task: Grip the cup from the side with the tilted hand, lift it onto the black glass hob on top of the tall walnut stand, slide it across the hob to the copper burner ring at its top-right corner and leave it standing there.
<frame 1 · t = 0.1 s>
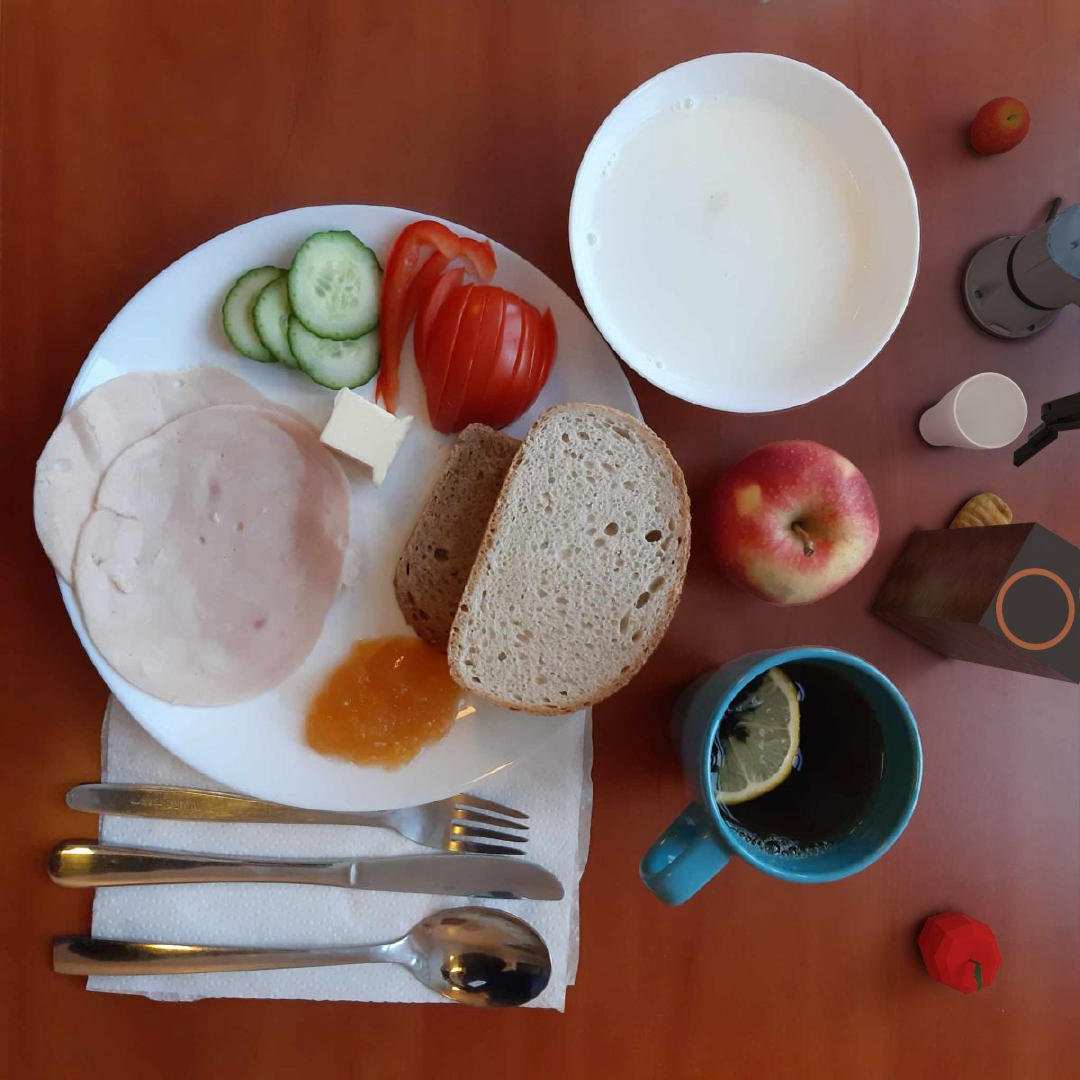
hand: (1057, 486, 114), 15 cm above the table, tool tilted 35°, fingers open, 13 cm apart
apple 2: (942, 937, 127), on the table
hob plate: (1056, 602, 101), resting on stove stand
pastry: (975, 522, 130), on the table
stove stand: (932, 594, 129), on the table
cup: (937, 426, 130), on the table
apple: (982, 141, 131), on the table
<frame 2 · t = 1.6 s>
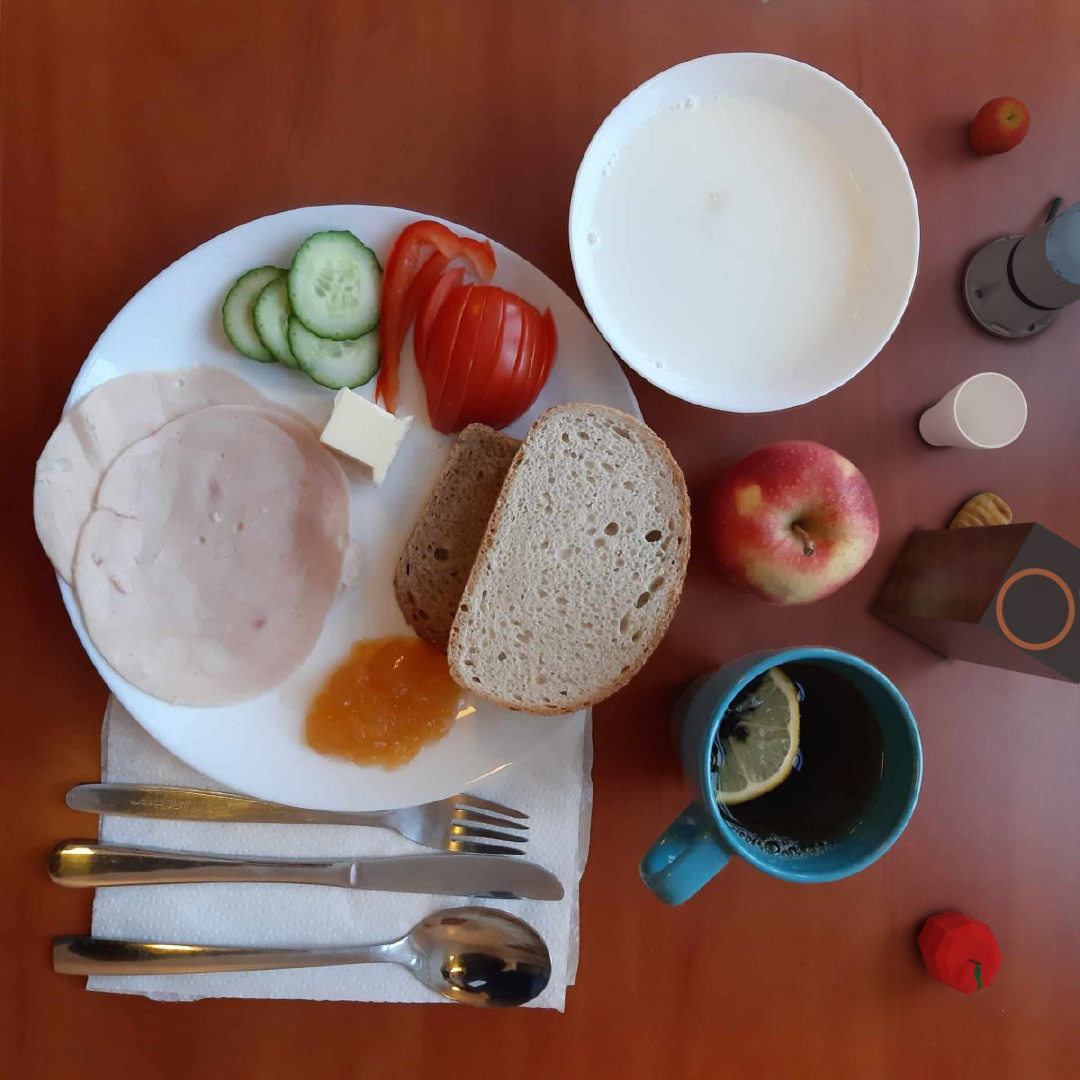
nothing on the table moved.
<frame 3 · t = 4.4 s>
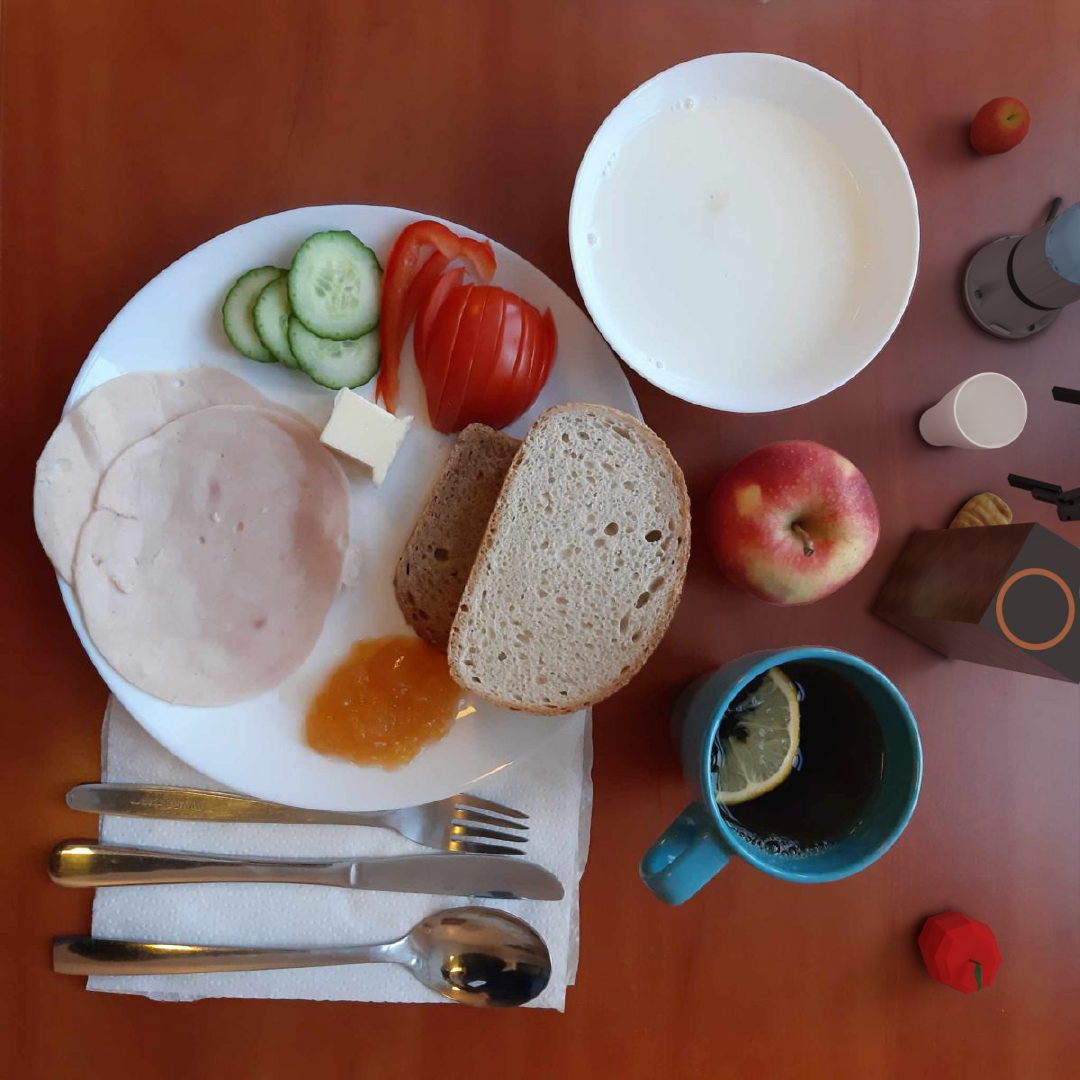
hand: (1031, 436, 117), 13 cm above the table, tool tilted 45°, fingers open, 13 cm apart
nothing on the table moved.
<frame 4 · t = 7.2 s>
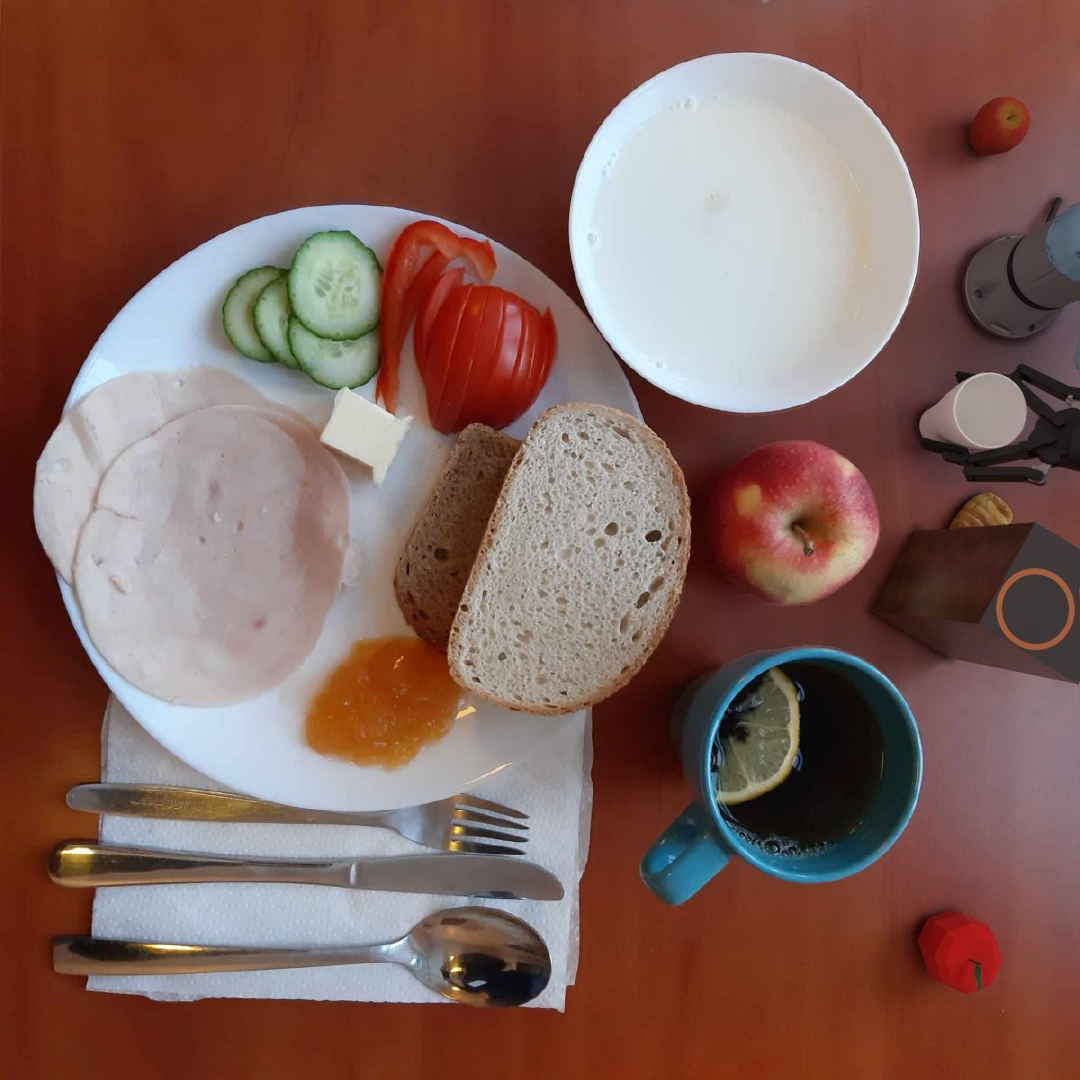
hand: (940, 410, 124), 5 cm above the table, tool tilted 45°, fingers closed on cup, 10 cm apart
cup: (937, 426, 130), on the table, touching gripper
everything else where it was.
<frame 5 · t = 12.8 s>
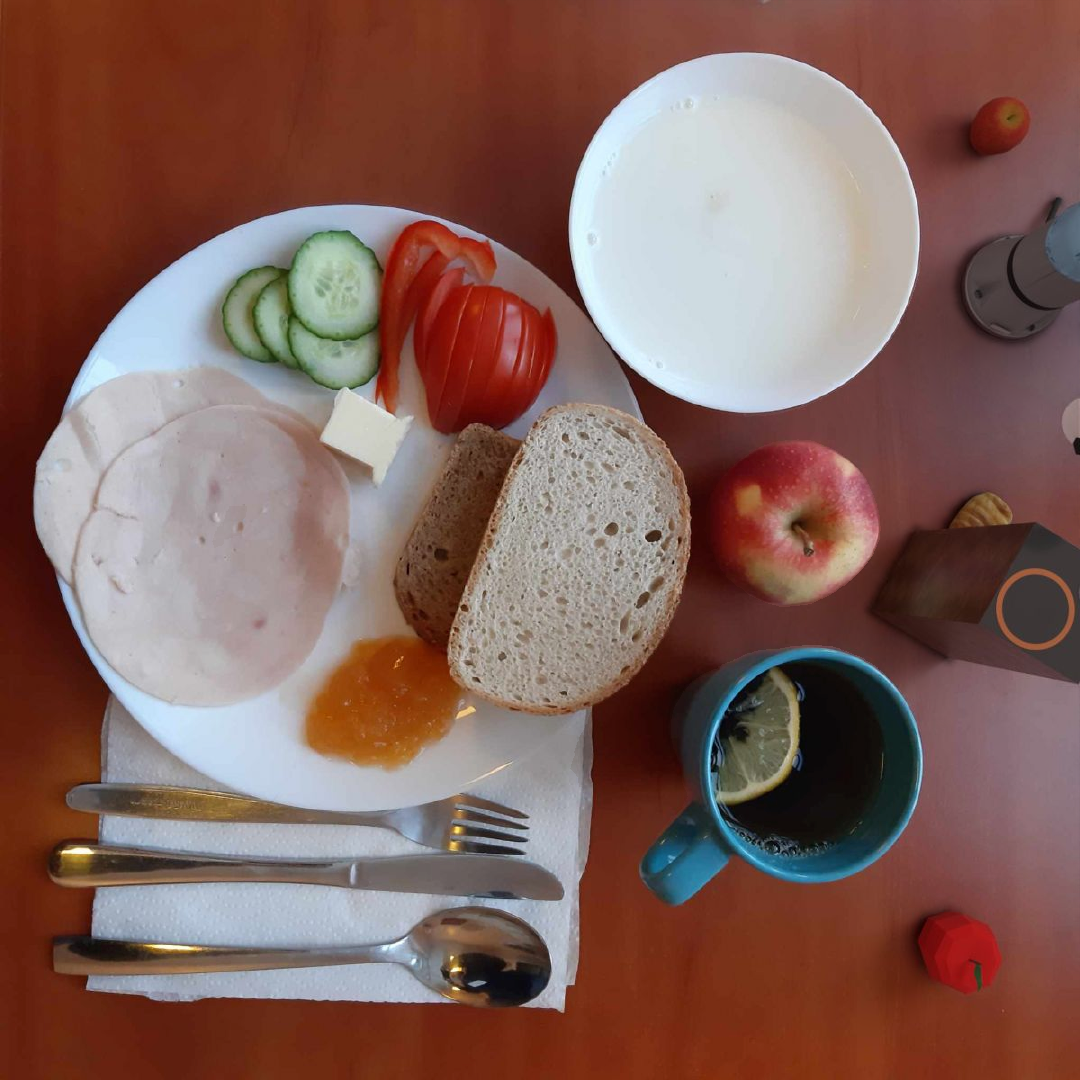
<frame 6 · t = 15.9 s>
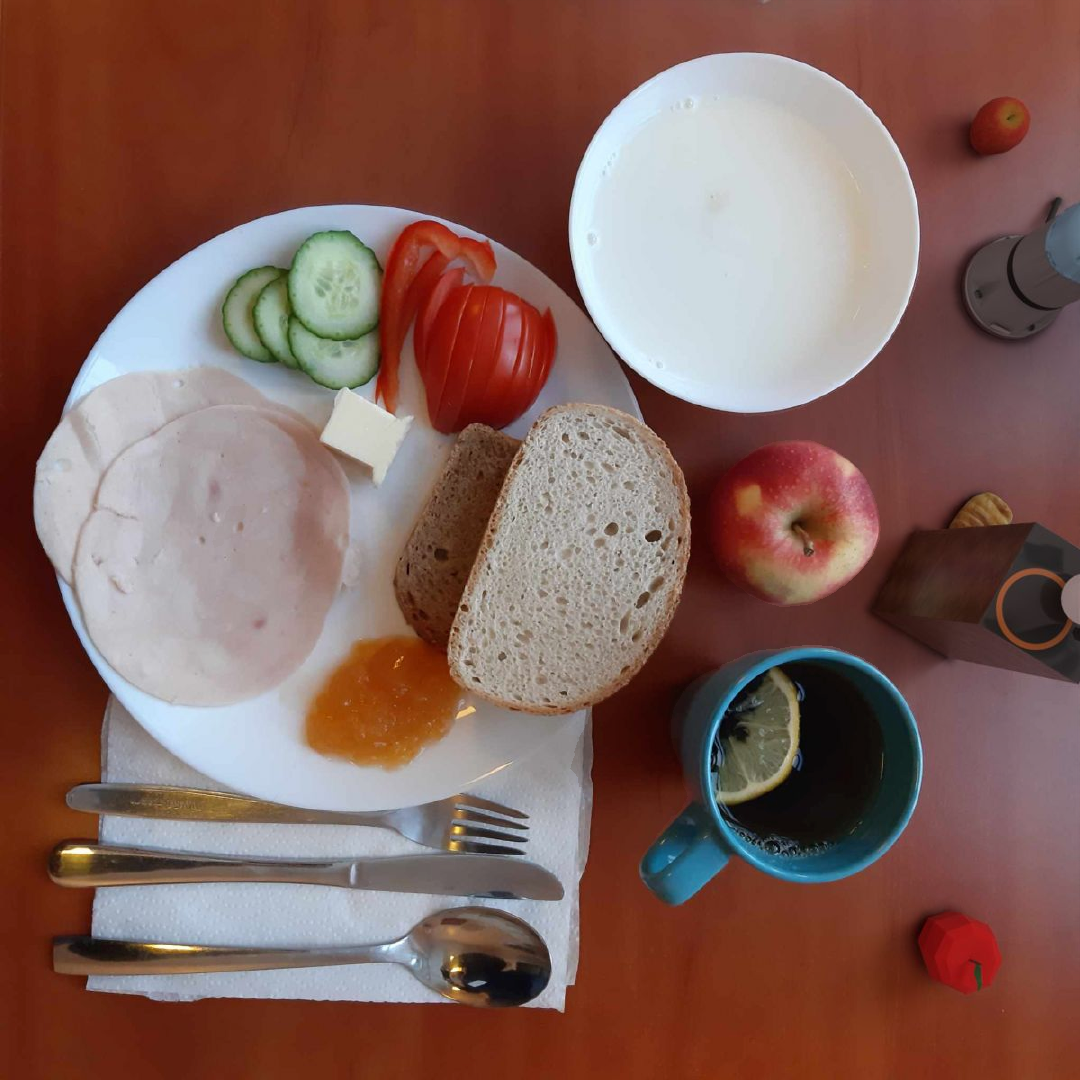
when the fingers open (34 cm above the table, at t = 18.3 s): cup stays where it is, resting on hob plate.
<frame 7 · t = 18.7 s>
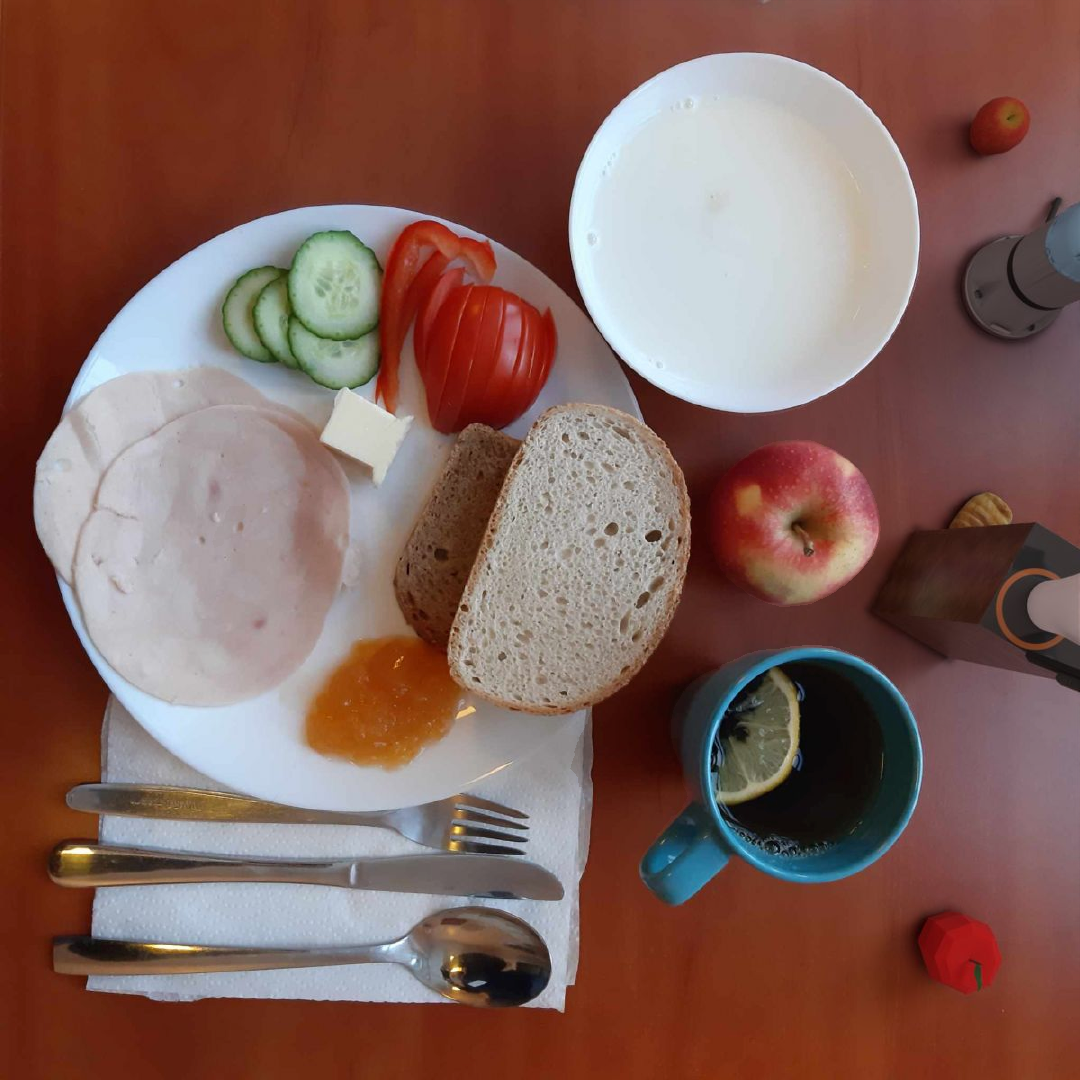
hand: (1055, 601, 94), 34 cm above the table, tool tilted 45°, fingers open, 13 cm apart
cup: (1049, 605, 101), point 28 cm above the table, touching hob plate
everything else where it was.
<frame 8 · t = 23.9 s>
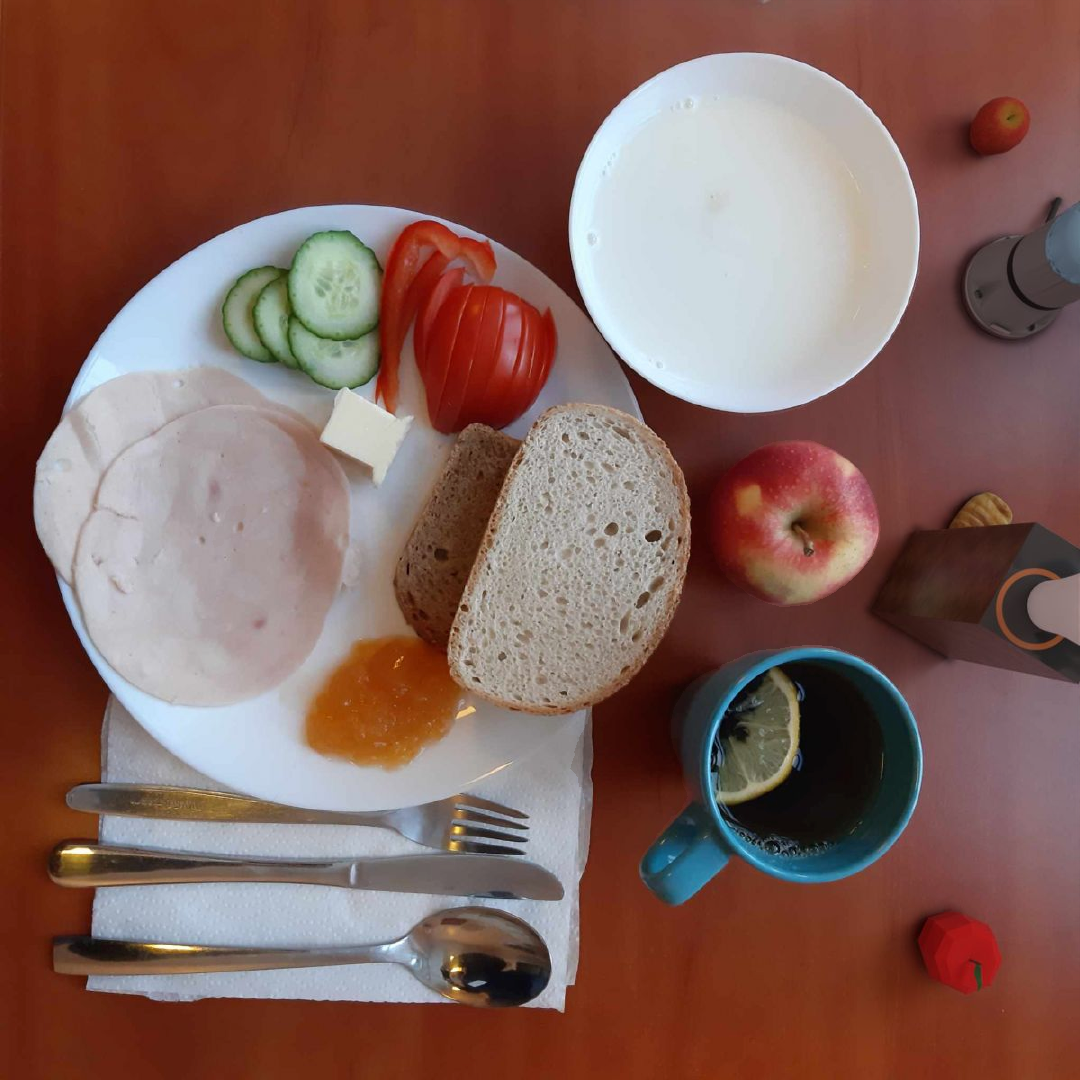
nothing on the table moved.
at the end: cup 1.9 cm from the target spot on the hob plate, point 0.1 cm above the hob plate's base; cup tilted 0°; the gripper is holding nothing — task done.
